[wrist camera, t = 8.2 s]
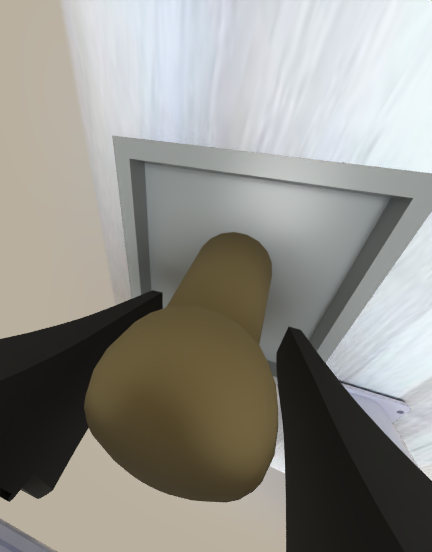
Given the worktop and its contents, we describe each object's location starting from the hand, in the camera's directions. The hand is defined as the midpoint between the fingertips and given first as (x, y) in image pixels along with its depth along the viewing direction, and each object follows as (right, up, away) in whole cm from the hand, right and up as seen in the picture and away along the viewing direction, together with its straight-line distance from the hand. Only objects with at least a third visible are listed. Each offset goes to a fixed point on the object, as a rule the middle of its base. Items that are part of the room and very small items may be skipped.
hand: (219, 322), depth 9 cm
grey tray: (+1, +2, +5) cm, 5 cm away
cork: (+1, +3, +4) cm, 5 cm away
